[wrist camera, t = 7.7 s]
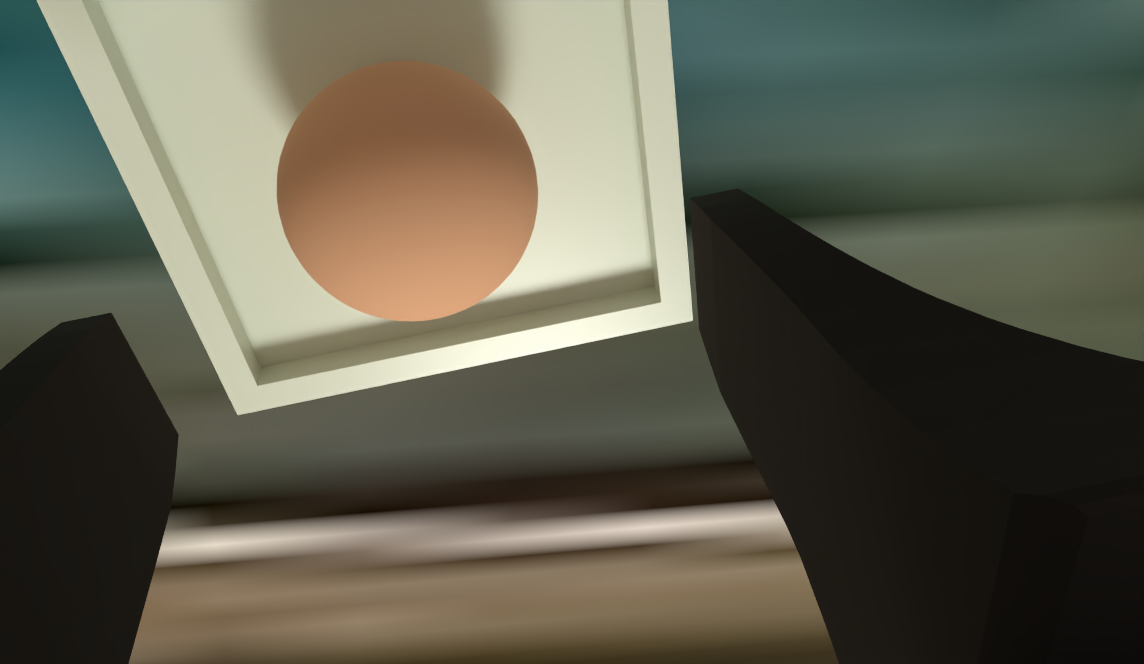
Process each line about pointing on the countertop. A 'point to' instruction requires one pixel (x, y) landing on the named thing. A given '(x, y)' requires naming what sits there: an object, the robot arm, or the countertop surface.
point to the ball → (407, 191)
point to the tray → (284, 88)
